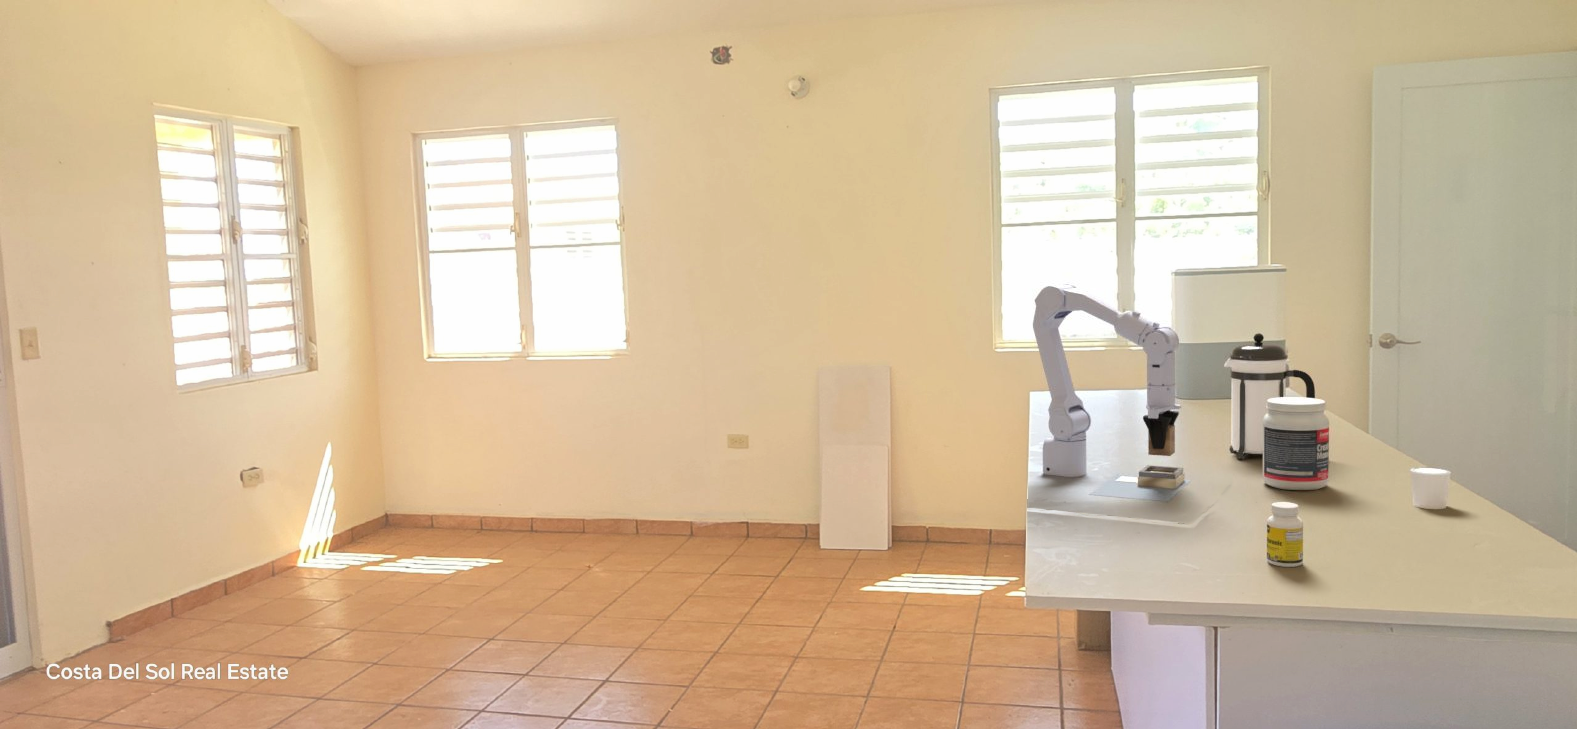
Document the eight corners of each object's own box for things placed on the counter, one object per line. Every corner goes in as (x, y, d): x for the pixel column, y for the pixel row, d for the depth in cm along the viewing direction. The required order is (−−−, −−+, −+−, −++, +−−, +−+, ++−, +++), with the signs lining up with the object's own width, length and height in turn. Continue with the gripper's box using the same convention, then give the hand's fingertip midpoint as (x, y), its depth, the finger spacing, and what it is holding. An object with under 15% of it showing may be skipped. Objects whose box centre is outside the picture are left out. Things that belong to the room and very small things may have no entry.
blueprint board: (1088, 498, 226) (1088, 480, 225) (1117, 477, 244) (1117, 461, 244) (1167, 505, 217) (1167, 486, 217) (1191, 483, 236) (1191, 466, 235)
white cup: (1445, 502, 211) (1446, 467, 210) (1454, 510, 205) (1455, 474, 204) (1405, 500, 213) (1406, 466, 213) (1413, 509, 207) (1414, 473, 206)
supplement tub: (1336, 492, 222) (1337, 404, 220) (1270, 492, 225) (1270, 405, 223) (1318, 479, 235) (1320, 396, 233) (1256, 478, 238) (1256, 396, 236)
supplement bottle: (1260, 559, 179) (1260, 501, 178) (1291, 557, 179) (1291, 499, 178) (1277, 568, 174) (1278, 509, 172) (1309, 566, 174) (1310, 507, 173)
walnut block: (1148, 454, 232) (1148, 427, 231) (1153, 451, 235) (1153, 424, 235) (1170, 456, 229) (1169, 428, 229) (1174, 452, 233) (1174, 425, 232)
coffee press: (1266, 465, 251) (1267, 337, 248) (1211, 455, 265) (1211, 333, 262) (1316, 456, 259) (1317, 332, 256) (1259, 446, 273) (1260, 329, 270)
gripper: (1172, 389, 223) (1172, 453, 224) (1187, 380, 235) (1187, 442, 236) (1137, 388, 226) (1138, 451, 228) (1154, 379, 239) (1155, 440, 240)
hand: (1161, 446), depth 232 cm, fingers closed on walnut block, 4 cm apart
